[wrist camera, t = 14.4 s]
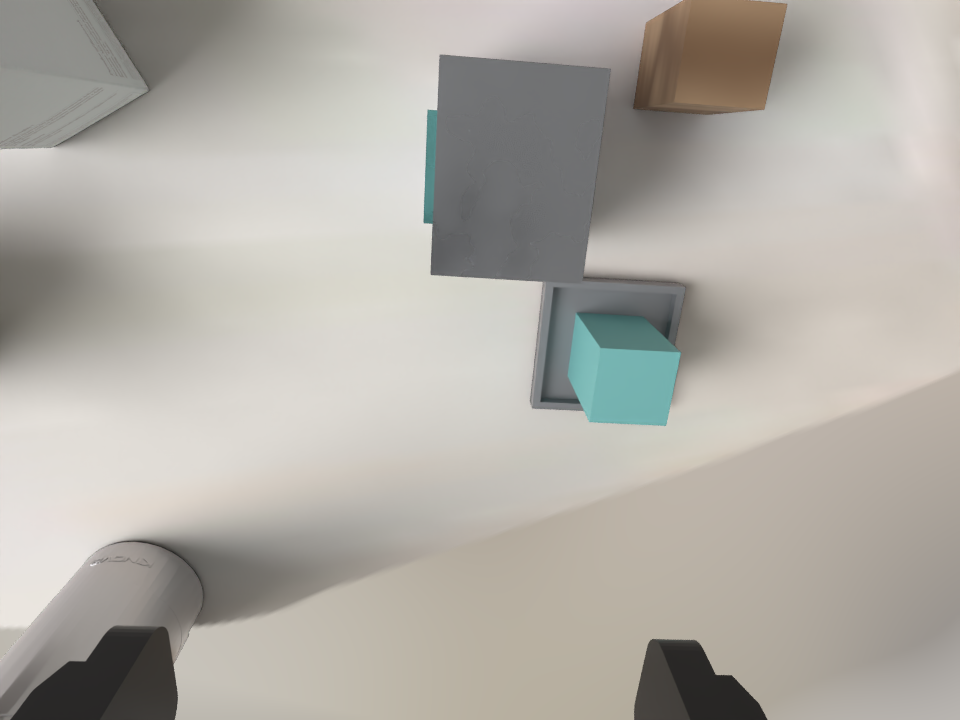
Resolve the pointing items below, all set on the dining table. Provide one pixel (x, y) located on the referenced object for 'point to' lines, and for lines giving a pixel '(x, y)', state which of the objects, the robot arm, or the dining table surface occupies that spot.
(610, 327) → the teal block
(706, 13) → the walnut block
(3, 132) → the supplement box
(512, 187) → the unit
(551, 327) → the tray
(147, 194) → the dining table surface
